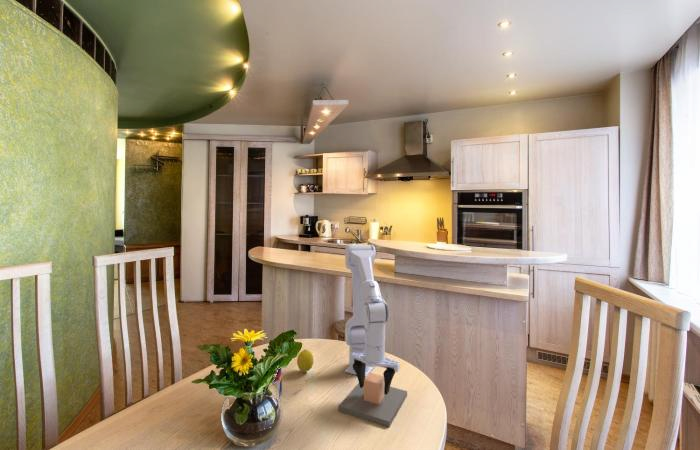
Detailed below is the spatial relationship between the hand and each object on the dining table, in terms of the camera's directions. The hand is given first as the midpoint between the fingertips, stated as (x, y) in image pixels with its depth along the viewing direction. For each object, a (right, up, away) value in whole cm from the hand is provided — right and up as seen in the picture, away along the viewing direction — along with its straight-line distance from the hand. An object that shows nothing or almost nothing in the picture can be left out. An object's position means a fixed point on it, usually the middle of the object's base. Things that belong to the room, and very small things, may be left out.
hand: (374, 389), depth 96 cm
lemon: (-22, -3, +18) cm, 29 cm away
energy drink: (-30, -4, +4) cm, 31 cm away
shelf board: (0, -4, 0) cm, 4 cm away
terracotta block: (0, -3, 0) cm, 3 cm away
